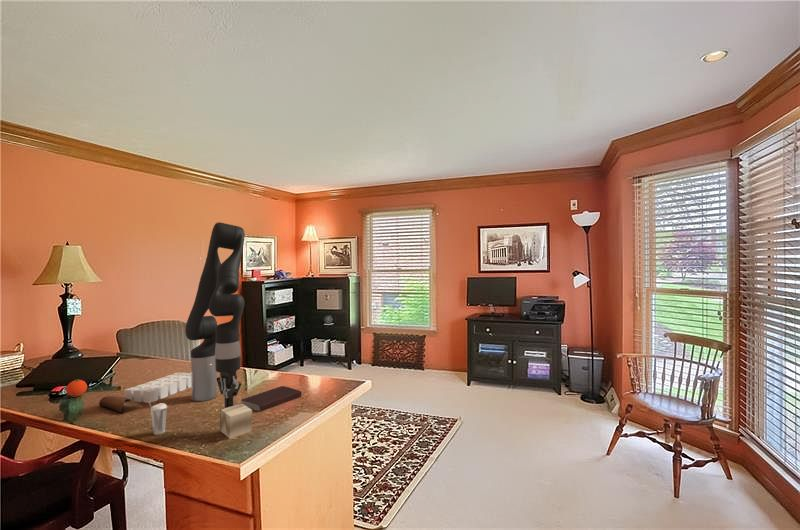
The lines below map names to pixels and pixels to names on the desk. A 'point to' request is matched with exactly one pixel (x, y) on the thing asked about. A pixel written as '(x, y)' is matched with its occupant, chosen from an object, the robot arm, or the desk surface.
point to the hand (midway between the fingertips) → (229, 408)
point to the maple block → (235, 420)
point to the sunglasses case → (119, 404)
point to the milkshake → (158, 418)
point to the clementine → (76, 388)
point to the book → (271, 398)
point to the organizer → (159, 388)
